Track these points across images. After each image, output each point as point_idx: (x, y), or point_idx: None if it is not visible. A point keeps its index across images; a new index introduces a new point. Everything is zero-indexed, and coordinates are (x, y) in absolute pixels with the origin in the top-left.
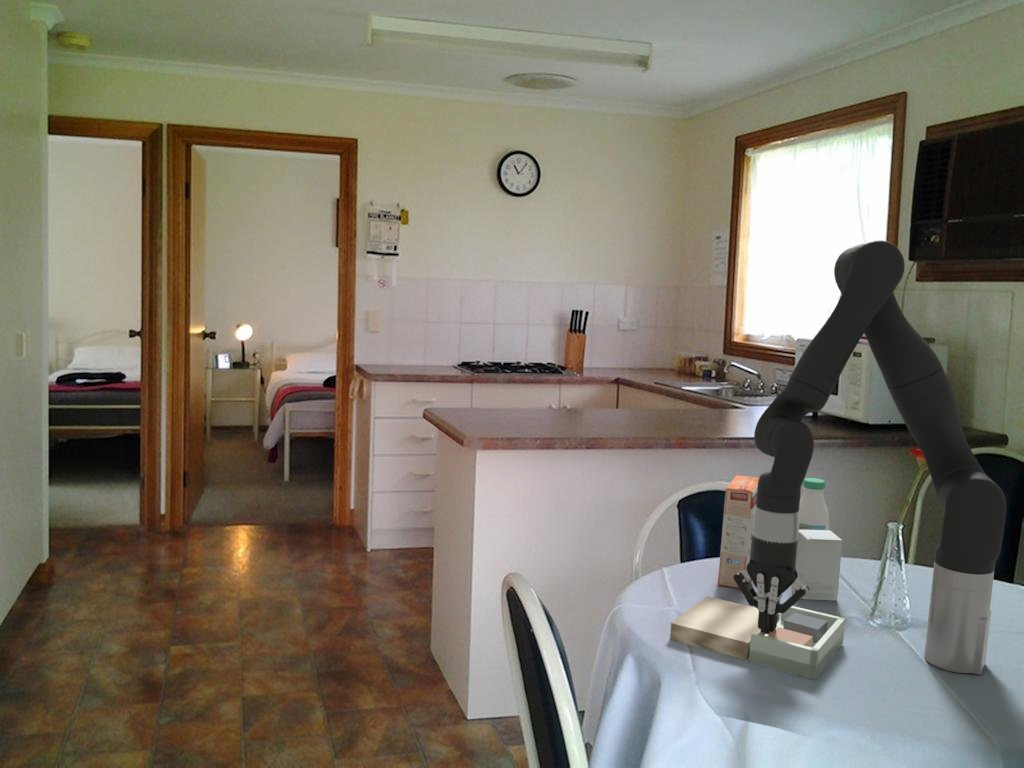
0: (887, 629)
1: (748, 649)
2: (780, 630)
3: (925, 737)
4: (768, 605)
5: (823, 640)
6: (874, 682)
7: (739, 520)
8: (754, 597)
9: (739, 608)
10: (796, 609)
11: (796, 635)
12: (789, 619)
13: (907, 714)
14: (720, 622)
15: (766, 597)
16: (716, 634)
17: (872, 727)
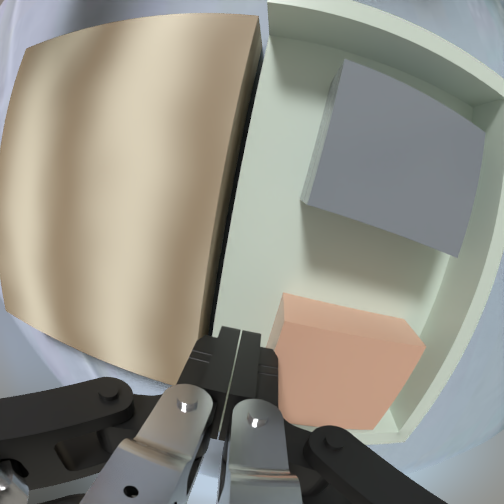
0: (495, 7)
1: None
2: (297, 354)
3: (473, 443)
4: (218, 481)
5: (450, 367)
6: (494, 329)
7: None
8: (109, 444)
9: (99, 62)
10: (344, 18)
11: (364, 372)
12: (335, 175)
13: (486, 409)
14: (65, 248)
15: (186, 496)
16: (94, 356)
17: (423, 462)
